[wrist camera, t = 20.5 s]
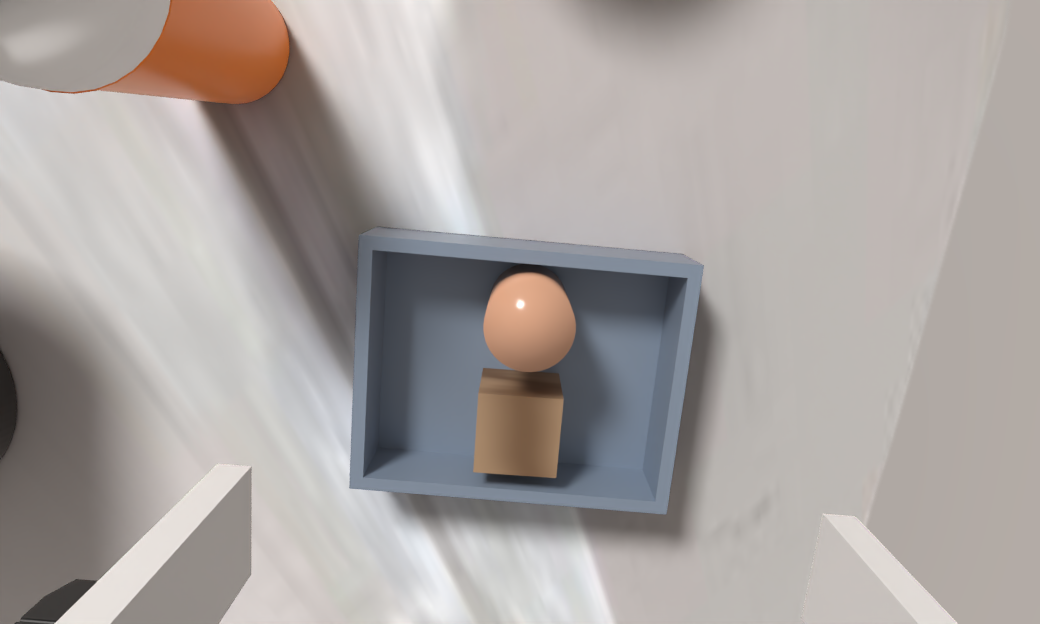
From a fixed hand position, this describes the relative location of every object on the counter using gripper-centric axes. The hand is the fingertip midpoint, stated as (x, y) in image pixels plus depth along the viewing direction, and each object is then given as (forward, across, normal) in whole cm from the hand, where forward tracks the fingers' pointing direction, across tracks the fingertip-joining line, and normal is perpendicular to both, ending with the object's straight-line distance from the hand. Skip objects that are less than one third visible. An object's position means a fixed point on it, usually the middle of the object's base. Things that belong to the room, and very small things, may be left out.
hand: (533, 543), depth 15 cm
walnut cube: (+28, 0, -7) cm, 29 cm away
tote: (+29, 0, -4) cm, 29 cm away
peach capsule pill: (+28, 0, 0) cm, 28 cm away
